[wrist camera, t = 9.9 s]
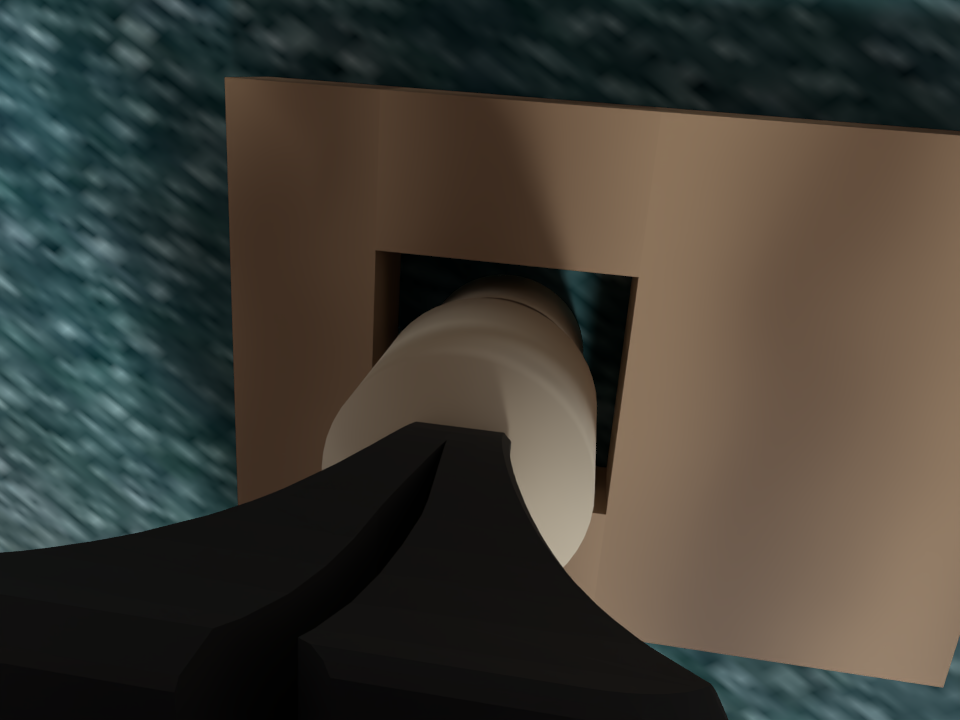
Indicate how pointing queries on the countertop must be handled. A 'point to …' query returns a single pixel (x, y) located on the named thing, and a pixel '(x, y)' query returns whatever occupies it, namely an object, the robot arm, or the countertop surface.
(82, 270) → the countertop surface
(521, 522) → the robot arm
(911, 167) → the board
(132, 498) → the countertop surface
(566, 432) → the peg
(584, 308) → the countertop surface
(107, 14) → the countertop surface
